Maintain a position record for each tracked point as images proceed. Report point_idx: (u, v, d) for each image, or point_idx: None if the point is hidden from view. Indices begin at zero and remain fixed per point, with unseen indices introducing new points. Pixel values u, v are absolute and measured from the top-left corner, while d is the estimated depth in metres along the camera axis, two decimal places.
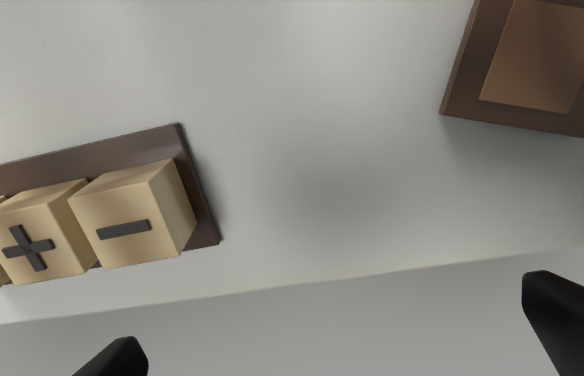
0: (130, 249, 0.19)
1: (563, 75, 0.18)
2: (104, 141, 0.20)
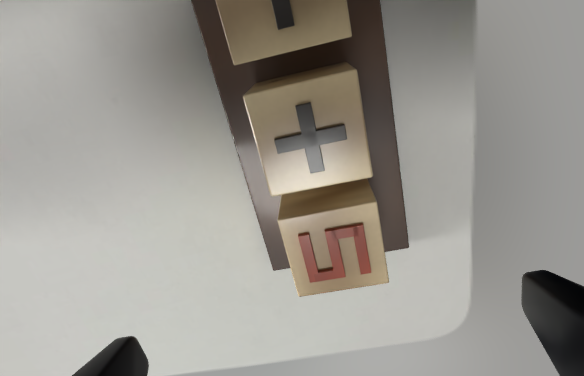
0: None
1: None
2: (206, 49, 0.16)
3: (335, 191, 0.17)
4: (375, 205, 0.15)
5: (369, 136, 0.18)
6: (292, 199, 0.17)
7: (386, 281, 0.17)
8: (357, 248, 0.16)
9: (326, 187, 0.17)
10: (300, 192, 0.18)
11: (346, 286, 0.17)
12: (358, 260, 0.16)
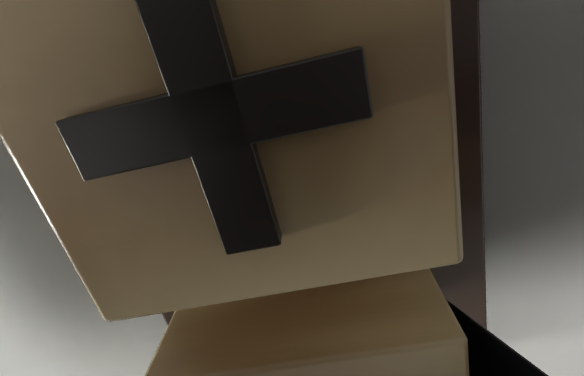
0: None
1: None
2: None
3: None
4: (461, 351, 0.04)
5: None
6: None
7: None
8: None
9: None
10: None
11: None
12: None
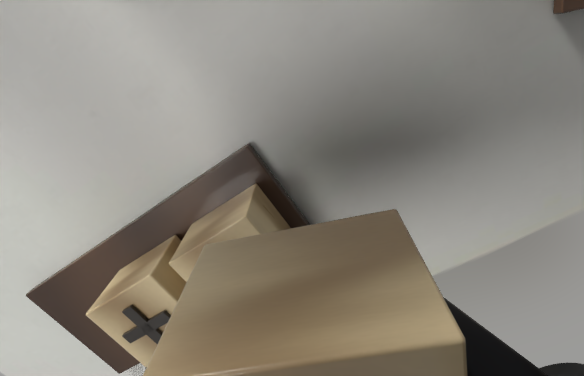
0: None
1: None
2: (181, 190, 0.18)
3: (324, 272, 0.06)
4: (459, 350, 0.04)
5: None
6: (210, 289, 0.06)
7: None
8: None
9: (303, 254, 0.07)
10: (237, 265, 0.07)
11: None
12: None
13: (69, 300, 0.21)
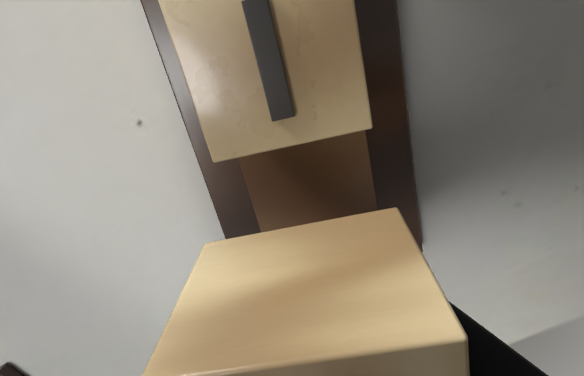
0: None
1: (351, 205, 0.14)
2: None
3: (325, 271, 0.06)
4: (462, 348, 0.04)
5: None
6: (210, 287, 0.06)
7: None
8: None
9: (304, 252, 0.07)
10: (238, 264, 0.07)
11: None
12: None
13: None
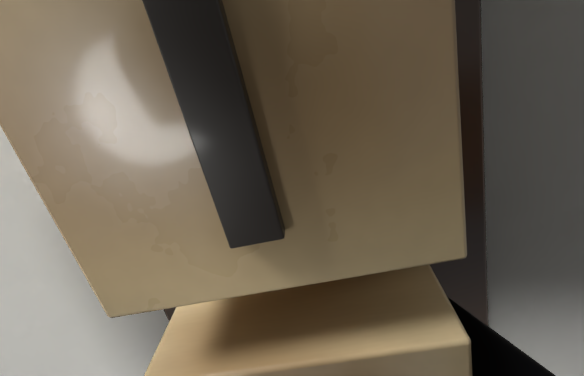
0: None
1: None
2: None
3: None
4: (465, 352, 0.04)
5: None
6: None
7: None
8: None
9: None
10: None
11: None
12: None
13: None
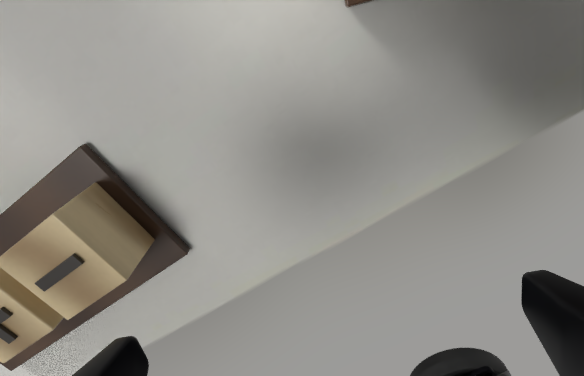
0: (78, 290, 0.17)
1: None
2: (28, 191, 0.19)
3: None
4: None
5: None
6: None
7: None
8: None
9: None
10: None
11: None
12: None
13: None
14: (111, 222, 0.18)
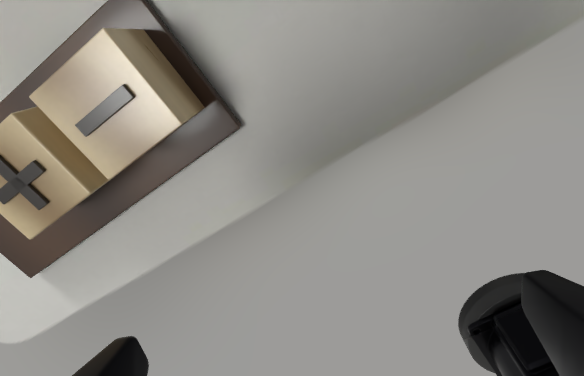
0: (124, 138, 0.15)
1: None
2: (64, 42, 0.17)
3: None
4: None
5: (89, 208, 0.20)
6: None
7: None
8: None
9: None
10: None
11: None
12: None
13: None
14: (162, 69, 0.16)
